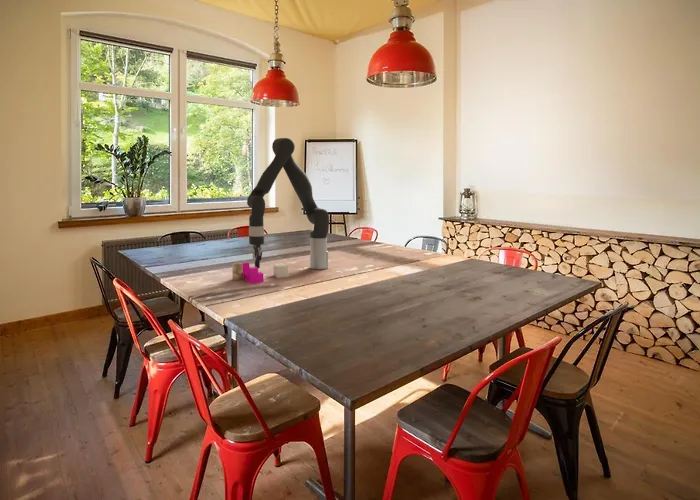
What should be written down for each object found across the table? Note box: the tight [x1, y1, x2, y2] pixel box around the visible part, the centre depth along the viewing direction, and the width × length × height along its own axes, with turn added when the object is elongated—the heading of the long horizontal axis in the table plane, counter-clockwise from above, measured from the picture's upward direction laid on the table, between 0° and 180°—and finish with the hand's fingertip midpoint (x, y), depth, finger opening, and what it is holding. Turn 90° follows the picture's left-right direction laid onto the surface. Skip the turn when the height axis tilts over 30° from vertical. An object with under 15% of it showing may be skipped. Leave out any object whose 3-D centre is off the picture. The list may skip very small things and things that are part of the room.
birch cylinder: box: [231, 262, 244, 282], centre depth 226 cm, size 5×5×8 cm
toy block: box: [241, 261, 264, 284], centre depth 227 cm, size 15×6×8 cm, turn 32°
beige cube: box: [272, 262, 289, 279], centre depth 235 cm, size 6×6×6 cm
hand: (257, 268), depth 235 cm, fingers closed
